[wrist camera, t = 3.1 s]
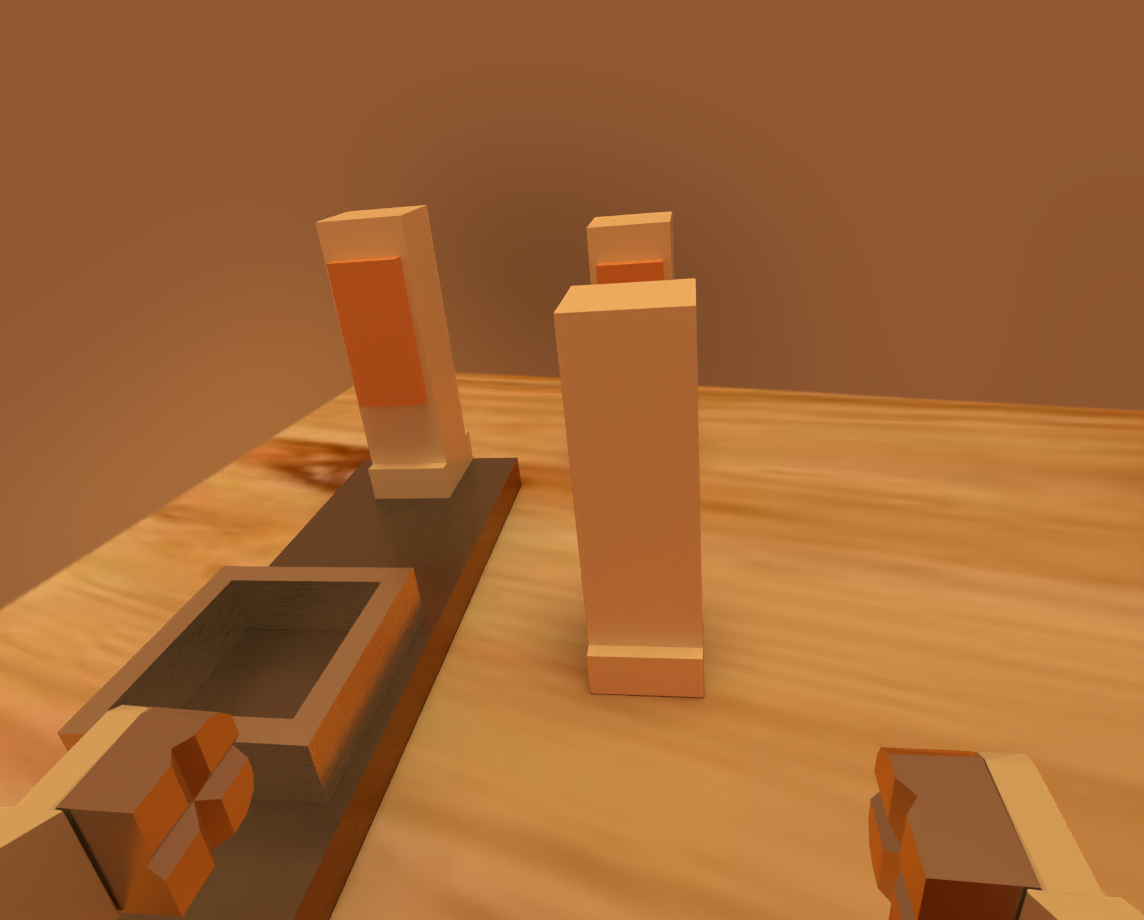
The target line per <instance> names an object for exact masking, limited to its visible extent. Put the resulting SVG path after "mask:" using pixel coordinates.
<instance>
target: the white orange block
mask: <svg viewBox="0 0 1144 920" xmlns="http://www.w3.org/2000/svg"><path fill="white" fill-rule="evenodd" d="M587 237H588V238H587V239H588V251H589V264H590V276H591V285H597V284H613V283H630V282H646V281H662V280H674V261H673V260H674V258H673V227H672V212H659V213H645V214H633V215H621V216H608V217H595V218H594V219H593V221H592V222H591V223H590V224H589V225H588V227H587Z"/></svg>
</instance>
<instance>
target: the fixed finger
mask: <svg viewBox="0 0 1144 920" xmlns="http://www.w3.org/2000/svg"><path fill="white" fill-rule="evenodd" d="M316 226H317V231H318V235H319V239H320V243H321V248H322V252H323V256H324V260H325V264H326V269H327V273H328V277H329V282H330V286H331V290H332V294H333V299H334V302H335V307H336V311H337V315H338V320H339V324H340V328H341V332H342V337H343V341H344V344H345V349H346V353H347V358H348V362H349V366H350V371H351V375H352V378H353V383H354V388H355V392H356V396H357V400H358V405H359V409H360V413H361V417H362V421H363V426H364V430H365V434H366V438H367V443H368V447H369V451H370V455H371V460H372V464H373V465H372V466H371V467H370V468H369V469H368V471H369V475H370V479H371V483H372V487H373V491H374V496H375V499H416V498H449V497H450V496H451V494H452V493H453V491H454V489H455V488H456V486H457V484H458V483H459V481H460V479H461V478H462V476H463V474H464V473H465V471H466V470H467V468H468V466H469V465H470V463H471V461H472V460H473V455H472V449H471V443H470V437H469V431H465V429H464V423H463V417H462V411H461V405H460V400H459V394H458V388H457V382H456V376H455V371H454V364H453V359H452V353H451V347H450V342H449V335H448V330H447V324H446V318H445V312H444V306H443V300H442V295H441V288H440V283H439V277H438V271H437V265H436V259H435V253H434V247H433V242H432V236H431V230H430V225H429V219H428V212H427V206H426V205H422V206H411V207H399V208H387V209H374V210H362V211H351V212H346V213H342V214H339V215H336V216H333V217H330V218H327V219H324V220H321V221H318V222H316Z"/></svg>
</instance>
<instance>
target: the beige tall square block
mask: <svg viewBox="0 0 1144 920" xmlns="http://www.w3.org/2000/svg"><path fill="white" fill-rule="evenodd" d="M695 282H696V281H695V279H678V280H662V281H646V282H630V283H613V284H597V285H581V286H571V287H570V289H569V291H568V292H567V294H566V295H565V297H564V298H563V300H562V301H561V303H560V305H559V306H558V307H557V309H556V311H555V312H554V322H555V331H556V340H557V350H558V359H559V368H560V379H561V388H562V398H563V407H564V417H565V426H566V435H567V445H568V454H569V464H570V473H571V483H572V492H573V502H574V511H575V521H576V530H577V539H578V549H579V558H580V568H581V577H582V587H583V596H584V606H585V615H586V625H587V634H588V644H589V646H588V651H587V664H588V674H589V683H590V692H591V693H594V694H622V695H649V696H676V697H703V698H704V685H703V631H702V580H701V531H700V481H699V431H698V382H697V333H696V332H697V331H696V284H695Z"/></svg>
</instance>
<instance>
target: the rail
mask: <svg viewBox="0 0 1144 920" xmlns="http://www.w3.org/2000/svg"><path fill="white" fill-rule="evenodd" d="M372 465H373V464H372V461H364V462H363V463H362V464H361V465H360V466H359V467H358V468H357V469H356V470H355V471H354V473H353V474H352V475H351V476H350V477H349V478H348V479H347V480H346V481H345V483H344V484H343V485H342V486H341V487H340V488H339V489H338V490H337V491H336V492H335V494H334V495H333V496H332V497H331V498H330V499H329V500H328V501H327V502H326V504H325V505H324V506H323V507H322V508H321V509H320V510H319V511H318V512H317V513H316V515H315V516H314V517H313V518H312V519H311V520H310V521H309V522H308V523H307V525H306V526H305V527H304V528H303V529H302V530H301V531H300V532H299V533H298V534H297V536H296V537H295V538H294V539H293V540H292V541H291V542H290V543H289V544H288V546H287V547H286V548H285V549H284V550H283V551H282V552H281V553H280V554H279V556H278V557H277V558H276V559H275V560H274V561H273V562H272V563H271V564H270V565H269V567H241V566H224V567H223V568H222V569H221V570H220V571H219V572H218V573H217V574H216V575H215V576H214V577H213V578H212V579H211V580H210V581H209V582H208V583H207V584H206V585H205V586H204V587H203V588H202V589H201V590H200V591H199V592H198V593H197V594H196V595H195V596H194V597H193V598H192V599H191V600H190V601H189V602H188V603H187V604H186V605H185V606H184V607H183V608H182V609H181V610H180V611H179V612H178V613H177V614H176V615H175V616H174V617H173V618H172V619H171V620H170V621H169V622H168V623H167V624H166V625H165V626H164V627H163V628H162V629H161V630H160V631H159V632H158V633H157V634H156V635H155V636H154V637H153V638H152V639H151V640H150V641H149V642H148V643H147V644H146V645H145V646H144V647H143V648H142V649H140V650H139V651H138V652H137V653H136V654H135V655H134V656H133V657H132V658H131V659H130V660H129V661H128V662H127V663H126V664H125V665H124V666H123V667H122V668H121V669H120V670H119V671H118V672H117V673H116V674H115V675H114V676H113V677H112V678H111V679H110V680H109V681H108V682H107V683H106V684H105V685H104V686H103V687H102V688H101V689H100V690H99V691H98V692H97V693H96V694H95V695H94V696H93V697H92V698H91V699H90V700H89V701H88V702H87V703H86V704H85V705H84V706H83V707H82V708H81V709H80V710H79V711H78V712H77V713H76V714H75V715H74V716H73V717H72V718H71V719H70V720H69V721H68V722H67V723H66V724H65V725H64V726H63V727H62V728H61V729H60V730H59V731H58V732H57V733H58V734H59V736H60V738H61V740H62V742H63V744H64V746H65V747H66V749H67V751H69V750H70V749H71V748H72V747H73V746H74V745H75V744H76V743H77V742H78V741H79V740H80V739H81V738H82V737H83V736H84V735H85V734H86V733H87V732H88V731H89V730H90V729H91V728H92V727H93V726H94V725H95V724H96V723H97V722H98V721H99V720H100V719H101V718H102V717H103V715H104V714H105V713H106V712H107V711H110V710H112V709H114V708H116V707H119V706H121V705H130V706H143V707H162V708H174V709H186V710H198V711H210V712H220V713H225V714H229V715H231V716H232V718H233V720H234V723H235V725H236V727H237V730H238V732H239V735H238V737H237V739H236V741H235V743H234V746H235V747H236V748H237V749H238V750H239V751H241V752H242V753H243V754H244V755H245V756H246V757H247V758H248V759H249V762H250V765H251V767H252V770H253V781H254V791H253V794H252V798H251V801H250V805H249V808H248V812H247V814H246V816H245V818H244V819H243V821H242V823H241V824H240V826H239V828H238V829H237V831H236V833H235V834H234V835H232V836H231V837H230V838H228V839H227V840H225V841H224V842H223V843H221V844H220V845H218V846H217V847H216V848H214V861H215V866H214V868H213V869H212V871H211V873H210V874H209V876H208V877H207V879H206V881H205V882H204V884H203V885H202V887H201V888H200V890H199V892H198V893H197V895H196V896H195V898H194V899H193V901H192V903H191V904H190V906H189V907H188V909H187V911H186V912H185V914H184V915H183V917H177V916H163V915H149V914H135V913H121V912H118V913H119V915H120V916H119V918H117V919H116V920H329V918H330V915H331V913H332V911H333V909H334V906H335V904H336V902H337V900H338V897H339V895H340V893H341V891H342V888H343V886H344V884H345V881H346V879H347V877H348V875H349V872H350V870H351V868H352V866H353V863H354V861H355V859H356V857H357V854H358V852H359V850H360V848H361V845H362V843H363V841H364V839H365V836H366V834H367V832H368V830H369V827H370V825H371V823H372V821H373V818H374V816H375V814H376V811H377V809H378V807H379V805H380V802H381V800H382V798H383V796H384V793H385V791H386V789H387V787H388V784H389V782H390V780H391V778H392V775H393V773H394V771H395V769H396V766H397V764H398V762H399V760H400V757H401V755H402V753H403V751H404V748H405V746H406V744H407V742H408V739H409V737H410V735H411V732H412V730H413V728H414V726H415V723H416V721H417V719H418V717H419V714H420V712H421V710H422V708H423V705H424V703H425V701H426V699H427V696H428V694H429V692H430V690H431V687H432V685H433V683H434V681H435V678H436V676H437V674H438V672H439V669H440V667H441V665H442V662H443V660H444V658H445V656H446V653H447V651H448V649H449V647H450V644H451V642H452V640H453V638H454V635H455V633H456V631H457V629H458V626H459V624H460V622H461V620H462V617H463V615H464V613H465V611H466V608H467V606H468V604H469V602H470V599H471V597H472V595H473V592H474V590H475V588H476V586H477V583H478V581H479V579H480V577H481V574H482V572H483V570H484V568H485V565H486V563H487V561H488V559H489V556H490V554H491V552H492V550H493V547H494V545H495V543H496V541H497V538H498V536H499V534H500V532H501V529H502V527H503V525H504V522H505V520H506V518H507V516H508V513H509V511H510V509H511V507H512V504H513V502H514V500H515V498H516V495H517V493H518V491H519V489H520V486H521V480H520V473H519V466H518V459H517V458H481V459H473V460H472V461H471V463H470V465H469V466H468V468H467V470H466V471H465V473H464V474H463V476H462V478H461V479H460V481H459V483H458V484H457V486H456V488H455V489H454V491H453V493H452V494H451V496H450V497H449V498H416V499H375V496H374V491H373V487H372V483H371V479H370V475H369V471H368V469H369V468H370V467H371V466H372Z"/></svg>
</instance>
